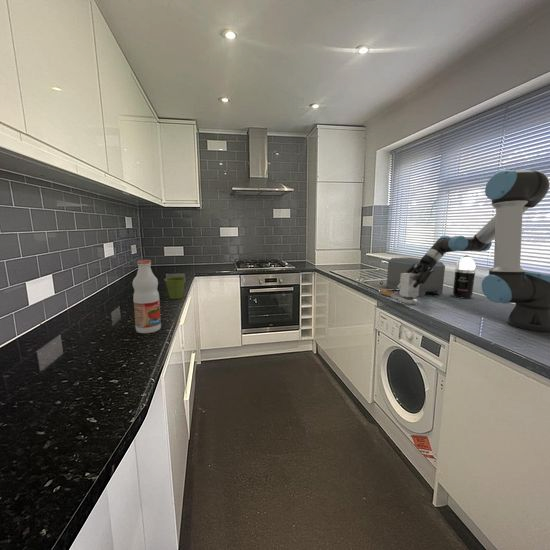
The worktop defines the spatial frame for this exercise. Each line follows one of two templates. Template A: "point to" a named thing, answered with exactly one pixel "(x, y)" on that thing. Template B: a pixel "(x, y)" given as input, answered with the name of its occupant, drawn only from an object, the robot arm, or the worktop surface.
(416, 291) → the socket
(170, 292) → the plant pot
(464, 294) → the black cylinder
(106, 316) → the worktop surface
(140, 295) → the fruit juice
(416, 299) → the ratchet
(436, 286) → the toaster
